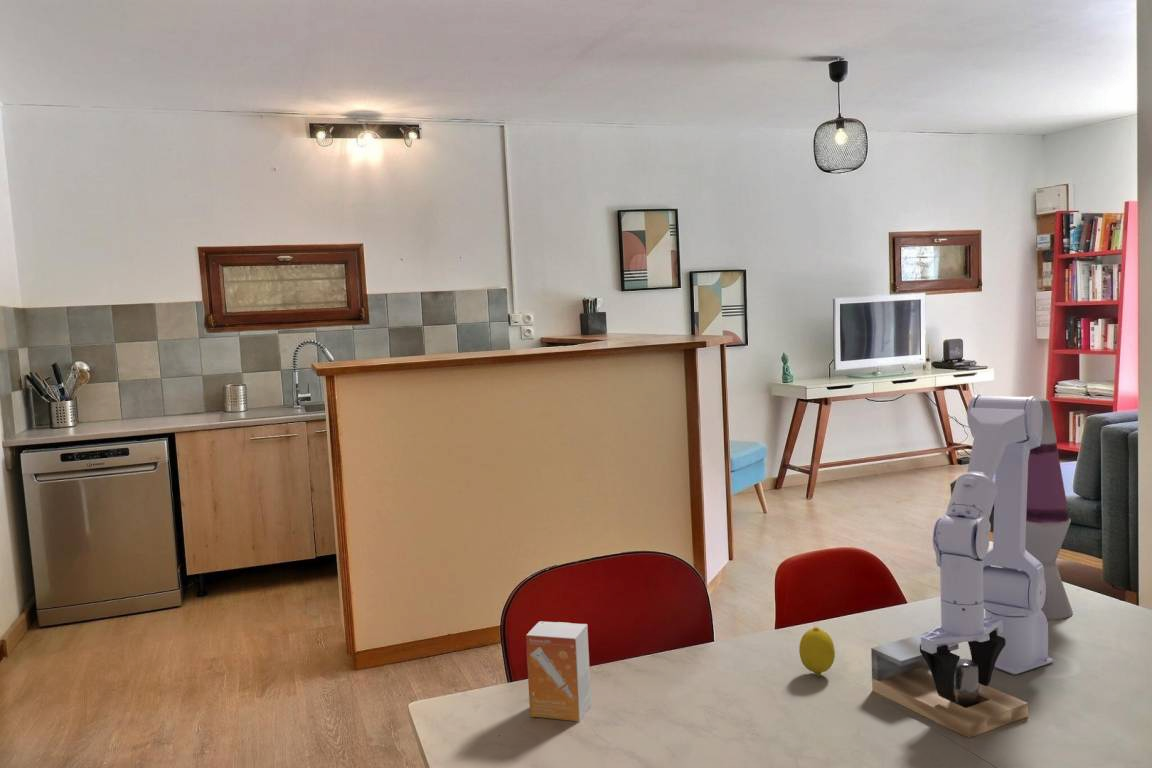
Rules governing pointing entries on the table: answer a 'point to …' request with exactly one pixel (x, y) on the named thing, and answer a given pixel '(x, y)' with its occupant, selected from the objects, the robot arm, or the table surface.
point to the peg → (966, 683)
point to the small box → (558, 670)
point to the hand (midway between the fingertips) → (963, 689)
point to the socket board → (913, 686)
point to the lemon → (817, 650)
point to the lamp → (1047, 515)
